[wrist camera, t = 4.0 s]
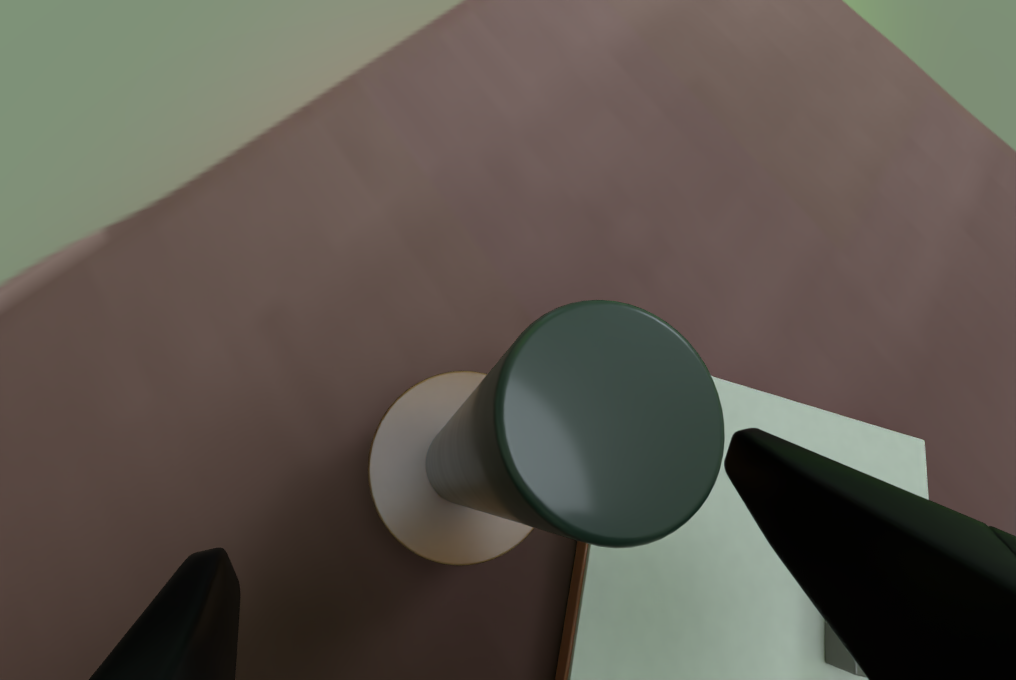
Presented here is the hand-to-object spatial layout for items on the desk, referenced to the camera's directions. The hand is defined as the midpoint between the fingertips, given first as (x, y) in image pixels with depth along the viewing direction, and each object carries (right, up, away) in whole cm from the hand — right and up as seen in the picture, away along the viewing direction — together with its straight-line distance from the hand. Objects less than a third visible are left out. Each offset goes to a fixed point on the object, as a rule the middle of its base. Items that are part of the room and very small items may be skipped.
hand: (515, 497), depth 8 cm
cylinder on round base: (-2, -2, +8) cm, 8 cm away
